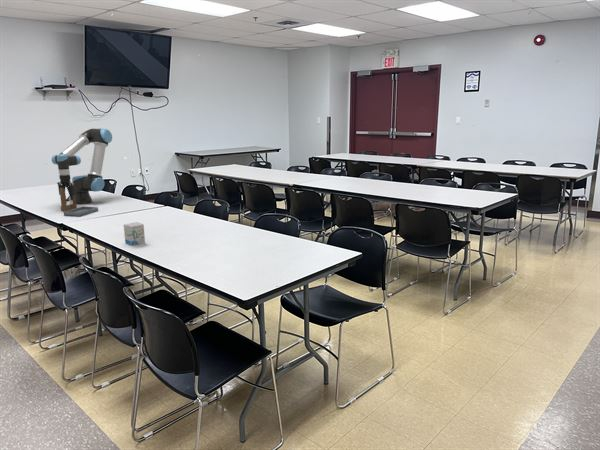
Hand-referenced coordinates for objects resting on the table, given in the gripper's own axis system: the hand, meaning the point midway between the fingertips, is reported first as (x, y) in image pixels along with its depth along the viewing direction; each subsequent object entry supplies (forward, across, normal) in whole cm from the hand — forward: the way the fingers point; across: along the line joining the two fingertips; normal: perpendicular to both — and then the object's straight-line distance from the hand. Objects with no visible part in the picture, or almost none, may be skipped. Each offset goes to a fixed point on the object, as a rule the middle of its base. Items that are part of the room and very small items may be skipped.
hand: (68, 203), depth 361 cm
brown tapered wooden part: (+5, 0, 0) cm, 5 cm away
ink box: (+5, +103, -70) cm, 125 cm away
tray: (+5, +17, -7) cm, 19 cm away
